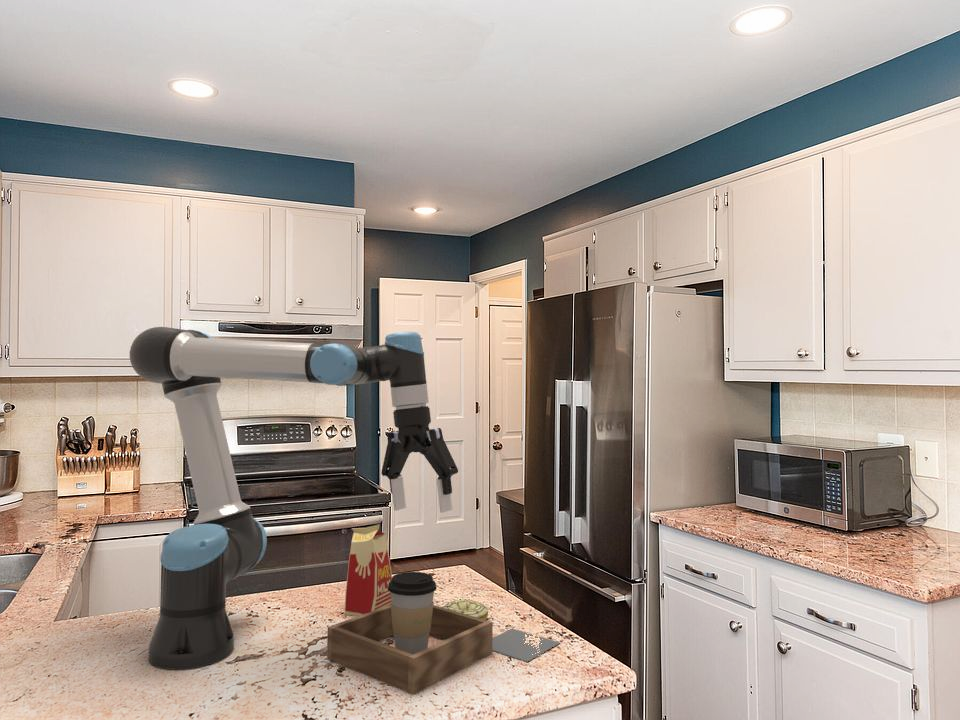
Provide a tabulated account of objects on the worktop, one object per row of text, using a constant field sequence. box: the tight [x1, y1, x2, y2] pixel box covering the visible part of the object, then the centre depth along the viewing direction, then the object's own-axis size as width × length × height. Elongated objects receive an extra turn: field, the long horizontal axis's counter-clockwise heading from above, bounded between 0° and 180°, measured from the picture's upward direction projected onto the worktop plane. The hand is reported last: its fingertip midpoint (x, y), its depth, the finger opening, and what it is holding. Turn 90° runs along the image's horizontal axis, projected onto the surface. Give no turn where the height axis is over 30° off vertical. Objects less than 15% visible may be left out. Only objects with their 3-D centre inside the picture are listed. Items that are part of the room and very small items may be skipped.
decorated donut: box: [442, 598, 489, 620], centre depth 148 cm, size 10×11×4 cm
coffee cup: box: [388, 571, 438, 654], centre depth 129 cm, size 9×9×15 cm
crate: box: [326, 604, 494, 695], centre depth 129 cm, size 22×22×6 cm
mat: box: [492, 628, 561, 663], centre depth 135 cm, size 12×12×1 cm
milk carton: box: [343, 524, 393, 617], centre depth 154 cm, size 9×9×20 cm
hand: (422, 510), depth 137 cm, fingers open, 13 cm apart
